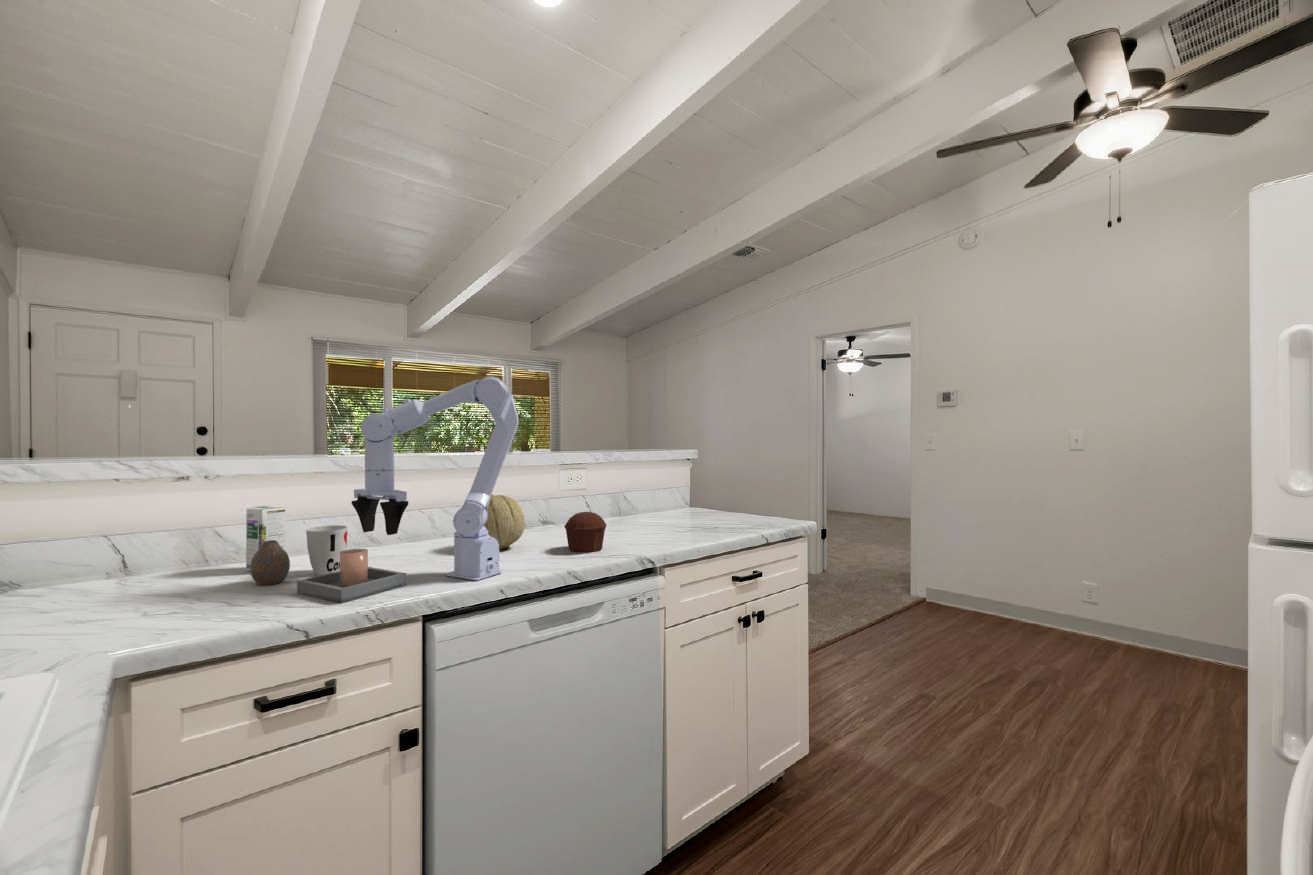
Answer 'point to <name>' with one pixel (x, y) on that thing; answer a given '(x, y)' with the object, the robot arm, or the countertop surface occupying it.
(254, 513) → the syrup box
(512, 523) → the cantaloupe
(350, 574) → the terracotta cup
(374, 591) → the grey tray
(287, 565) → the vase
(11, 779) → the countertop surface
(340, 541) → the cup
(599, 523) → the muffin
